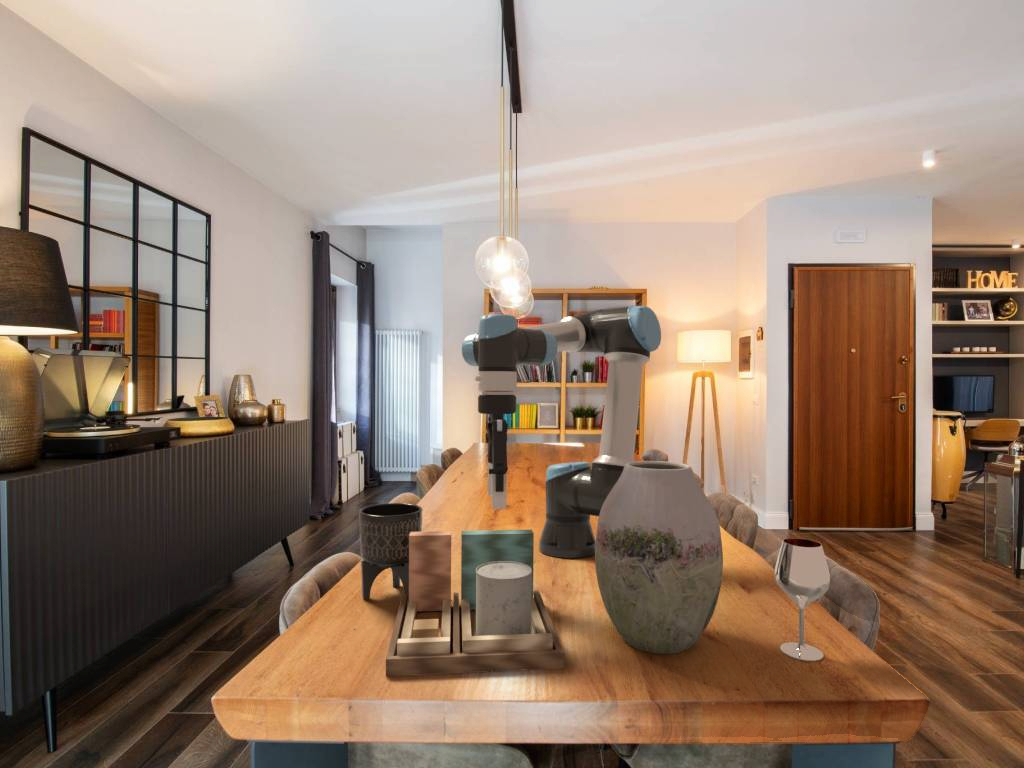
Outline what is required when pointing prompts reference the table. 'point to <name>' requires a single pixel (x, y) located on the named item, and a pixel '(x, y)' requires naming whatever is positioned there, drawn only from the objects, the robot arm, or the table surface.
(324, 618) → the table surface
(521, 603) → the speckled stone cylinder
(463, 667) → the guide frame
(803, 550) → the wineglass
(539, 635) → the can sled
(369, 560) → the planter
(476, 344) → the robot arm
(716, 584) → the vase
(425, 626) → the oak cube
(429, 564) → the cube sled
